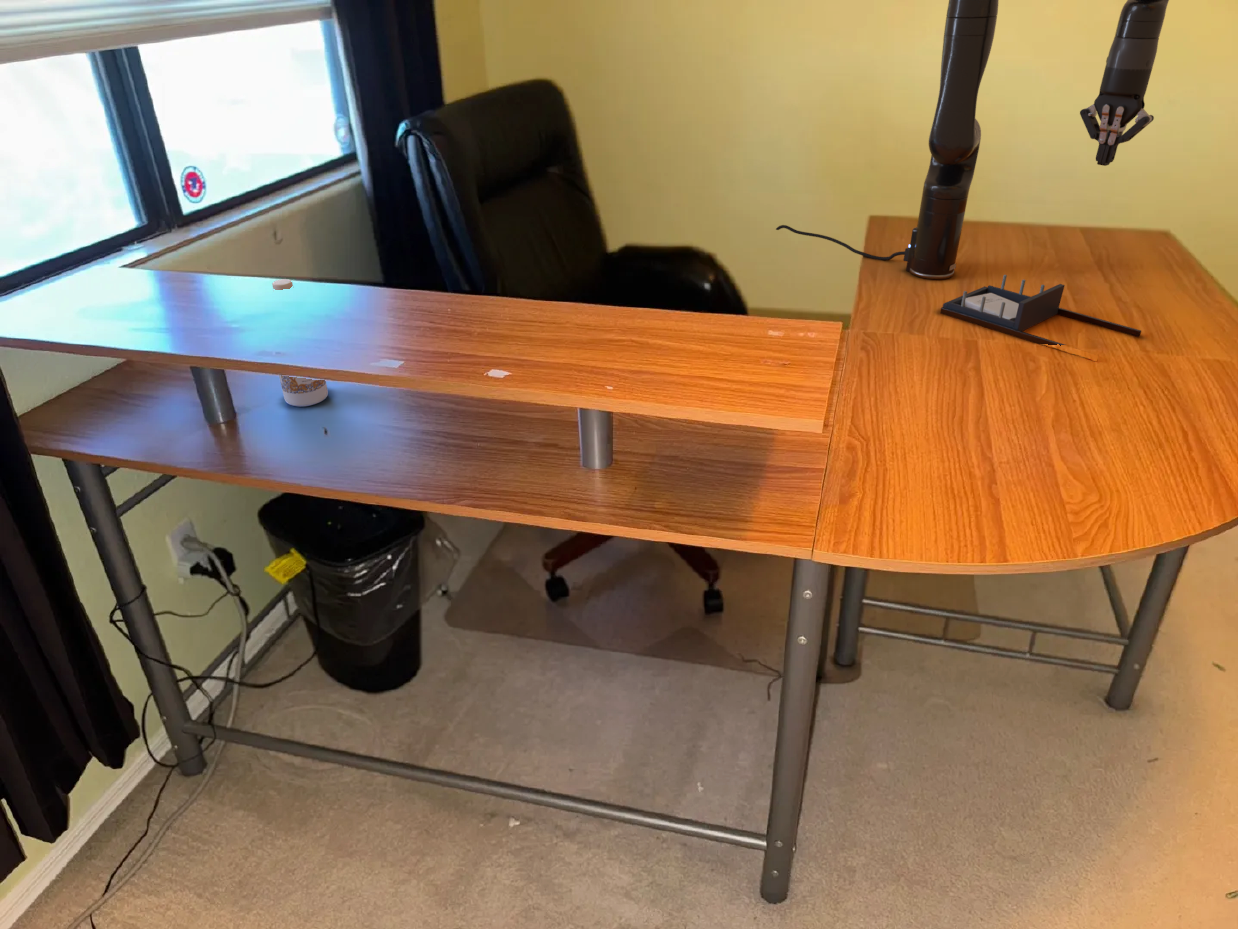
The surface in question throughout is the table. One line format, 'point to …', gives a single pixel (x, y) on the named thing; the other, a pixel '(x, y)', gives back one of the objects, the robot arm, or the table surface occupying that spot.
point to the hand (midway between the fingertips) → (1103, 164)
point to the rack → (1028, 309)
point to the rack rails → (1036, 338)
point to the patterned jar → (300, 388)
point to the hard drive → (993, 305)
